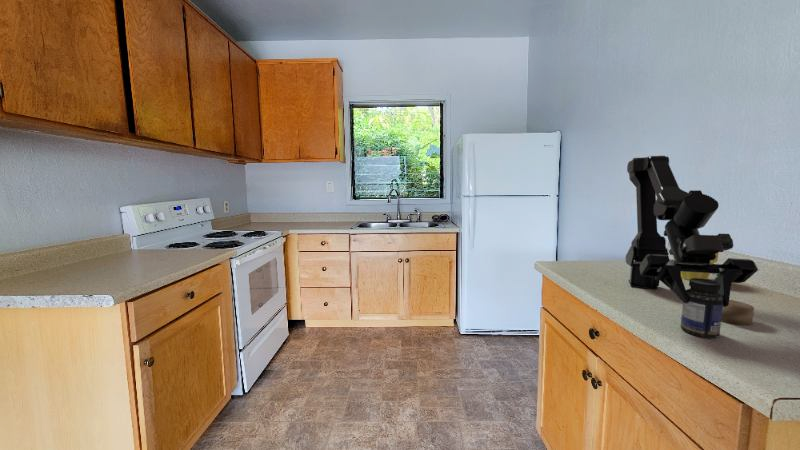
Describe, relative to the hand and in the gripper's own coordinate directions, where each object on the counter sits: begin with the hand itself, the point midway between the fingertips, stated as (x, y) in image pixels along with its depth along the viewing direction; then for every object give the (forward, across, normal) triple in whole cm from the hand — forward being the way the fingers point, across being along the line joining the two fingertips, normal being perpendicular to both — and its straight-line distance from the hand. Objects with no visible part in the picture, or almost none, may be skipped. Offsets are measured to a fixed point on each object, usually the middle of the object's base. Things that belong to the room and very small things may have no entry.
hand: (706, 304), depth 67 cm
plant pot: (-28, +18, +38) cm, 51 cm away
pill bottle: (+4, 0, +6) cm, 7 cm away
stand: (-4, +10, +13) cm, 17 cm away
